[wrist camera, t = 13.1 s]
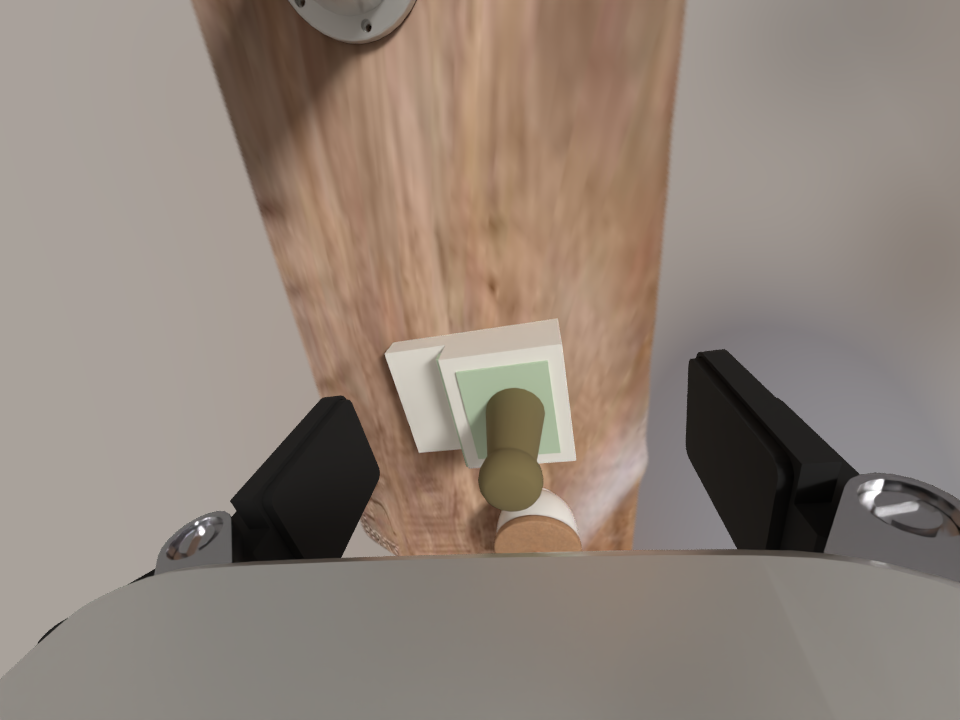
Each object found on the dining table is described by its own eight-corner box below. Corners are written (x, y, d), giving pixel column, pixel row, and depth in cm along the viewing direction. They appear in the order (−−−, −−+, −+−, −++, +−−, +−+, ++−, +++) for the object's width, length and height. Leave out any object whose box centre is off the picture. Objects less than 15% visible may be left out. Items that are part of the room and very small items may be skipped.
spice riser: (393, 342, 45) (371, 370, 39) (557, 318, 41) (562, 345, 35) (424, 437, 51) (410, 474, 45) (570, 424, 47) (576, 462, 41)
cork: (509, 445, 41) (502, 533, 31) (473, 406, 39) (454, 486, 29) (556, 419, 39) (565, 505, 29) (521, 377, 37) (518, 453, 27)
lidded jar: (521, 536, 57) (520, 600, 49) (484, 489, 54) (475, 548, 45) (588, 516, 54) (599, 580, 45) (553, 463, 50) (557, 523, 42)
